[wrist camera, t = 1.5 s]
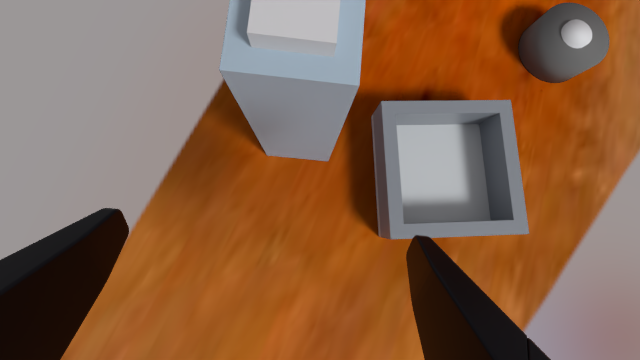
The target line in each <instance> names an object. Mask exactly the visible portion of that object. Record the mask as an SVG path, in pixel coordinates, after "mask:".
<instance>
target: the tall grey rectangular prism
mask: <svg viewBox="0 0 640 360" xmlns="http://www.w3.org/2000/svg"><path fill="white" fill-rule="evenodd" d="M364 14H365V0H230V3H229V9H228V16H227V23H226V29H225V35H224V42H223V49H222V55H221V61H220V69H219V70H220V72H221V74H222V76H223V78H224V79H225V81H226V83H227V85H228V87H229V88H230V90H231V92H232V94H233V95H234V97H235V99H236V101H237V103H238V104H239V106H240V108H241V110H242V112H243V113H244V115H245V117H246V119H247V121H248V122H249V124H250V126H251V128H252V129H253V131H254V133H255V135H256V137H257V138H258V140H259V142H260V144H261V146H262V147H263V149H264V151H265V153H266V154H267V155H270V156H280V157H290V158H300V159H310V160H320V161H328V160H329V158H330V155H331V153H332V150H333V148H334V146H335V143H336V141H337V138H338V136H339V134H340V131H341V129H342V126H343V124H344V121H345V119H346V117H347V114H348V112H349V109H350V107H351V105H352V102H353V100H354V97H355V95H356V93H357V90H358V88H359V83H360V69H361V56H362V42H363V28H364Z"/></svg>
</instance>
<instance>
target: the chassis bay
mask: <svg viewBox="0 0 640 360" xmlns="http://www.w3.org/2000/svg"><path fill="white" fill-rule="evenodd" d="M371 120H372V136H373V152H374V168H375V184H376V200H377V216H378V232H379V237H383V238H387V239H409V238H413V237H414V236H415V235H423V236H428V237H430V238H435V237H461V236H486V235H512V234H529V229H528V222H527V214H526V207H525V200H524V193H523V185H522V178H521V171H520V164H519V156H518V149H517V142H516V135H515V127H514V120H513V113H512V106H511V100H460V101H381V102H380V104H379V105H378V107H377V109H376V110H375V112H374V113H373V115H372V116H371Z"/></svg>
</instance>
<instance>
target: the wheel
mask: <svg viewBox="0 0 640 360" xmlns="http://www.w3.org/2000/svg"><path fill="white" fill-rule="evenodd" d="M608 48H609V35H608V31H607V29H606V26H605V25H604V23H603V21H602V20H601V19H600V17H599V16H598V15H597V14H596V13H595V12H593V11H592V10H591V9H589V8H587V7H585V6H583V5H580V4H576V3H562V4H558V5H556V6H554V7H552V8H551V9H549V10H548V11H547V12H546V13H545V14H544V15H542V16H541V17H540V18H539V19H538V20H537V21H535V22H534V23H533V24H532V25H531V26H530V27H528V28H527V29H526V30H525V31H524V32H523V34H522V36H521V38H520V40H519V46H518V50H519V56H520V59H521V61H522V63H523V65H524V66H525V68H526V69H527V70H528V71H529V72H530V73H531V74H532V75H533V76H535V77H536V78H538V79H540V80H542V81H545V82H550V83H560V82H564V81H567V80H568V79H570V78H572V77H574V76H576V75H578V74H580V73H582V72H583V71H585V70H587V69H589V68H591V67H593V66H595V65H597V64H598V63H599V62H601V61H602V60H603V58H604V57H605V56H606V54H607V51H608Z"/></svg>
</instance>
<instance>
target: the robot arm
mask: <svg viewBox="0 0 640 360" xmlns="http://www.w3.org/2000/svg"><path fill="white" fill-rule="evenodd" d="M128 234H129V227H128V225H127V223H126V220H125V218H124V216H123V214H122V212H121V211H120V210H119V209H112V208H104V209H101V210H99V211H97V212H95V213H93V214H91V215H89V216H87V217H85V218H83V219H81V220H79V221H77V222H75V223H73V224H71V225H69V226H67V227H65V228H63V229H61V230H59V231H57V232H55V233H53V234H51V235H49V236H47V237H45V238H43V239H41V240H39V241H38V242H36V243H33V244H31V245H29V246H28V247H25V248H24V249H21V250H19V251H17V252H16V253H13V254H11V255H9V256H7V257H5V258H4V259H1V260H0V360H60V359H61V358H62V356H63V354H64V353H65V351H66V349H67V348H68V346H69V344H70V343H71V341H72V339H73V338H74V336H75V334H76V332H77V331H78V329H79V327H80V326H81V324H82V322H83V321H84V319H85V317H86V316H87V314H88V312H89V311H90V309H91V307H92V306H93V304H94V302H95V301H96V299H97V297H98V296H99V294H100V292H101V291H102V289H103V287H104V285H105V283H106V282H107V280H108V278H109V276H110V274H111V272H112V269H113V267H114V265H115V263H116V261H117V259H118V256H119V254H120V252H121V250H122V248H123V246H124V243H125V241H126V239H127V237H128ZM406 260H407V268H408V276H409V284H410V293H411V300H412V306H413V311H414V316H415V320H416V324H417V328H418V333H419V337H420V341H421V345H422V350H423V354H424V358H425V360H551V359H550V358H549V357H547V355H545V353H544V352H543V351H541V350H540V348H539V347H537V345H535V343H534V342H533V341H532V340H531V339H529V338H527V336H526V334H525V333H524V332H523V331H522V330H521V329H520V328H519V327H518V326H517V325H516V324H515V323H514V322H513V321H512V320H511V319H510V318H509V317H508V316H507V315H506V314H505V313H504V312H503V311H502V310H501V309H500V308H499V307H498V306H497V305H496V304H495V303H494V302H493V301H492V300H491V299H490V298H489V297H488V296H487V295H486V294H485V293H484V292H483V291H482V290H481V289H480V288H479V287H478V286H477V285H476V284H475V283H474V282H473V281H472V280H471V279H470V278H469V277H468V276H467V275H466V274H465V273H464V272H463V270H462V269H461V268H460V267H459V266H458V265H457V264H456V263H455V262H454V261H453V260H452V259H451V258H450V257H449V256H448V255H447V254H446V253H445V252H444V251H443V250H442V249H441V248H440V247H439V246H438V245H437V244H436V243H435V242H434V241H433V240H432V239H431V238H430V237H428V236H423V235H415V236H414V237H413V239H412V241H411V244H410V246H409V248H408V251H407V255H406Z"/></svg>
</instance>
